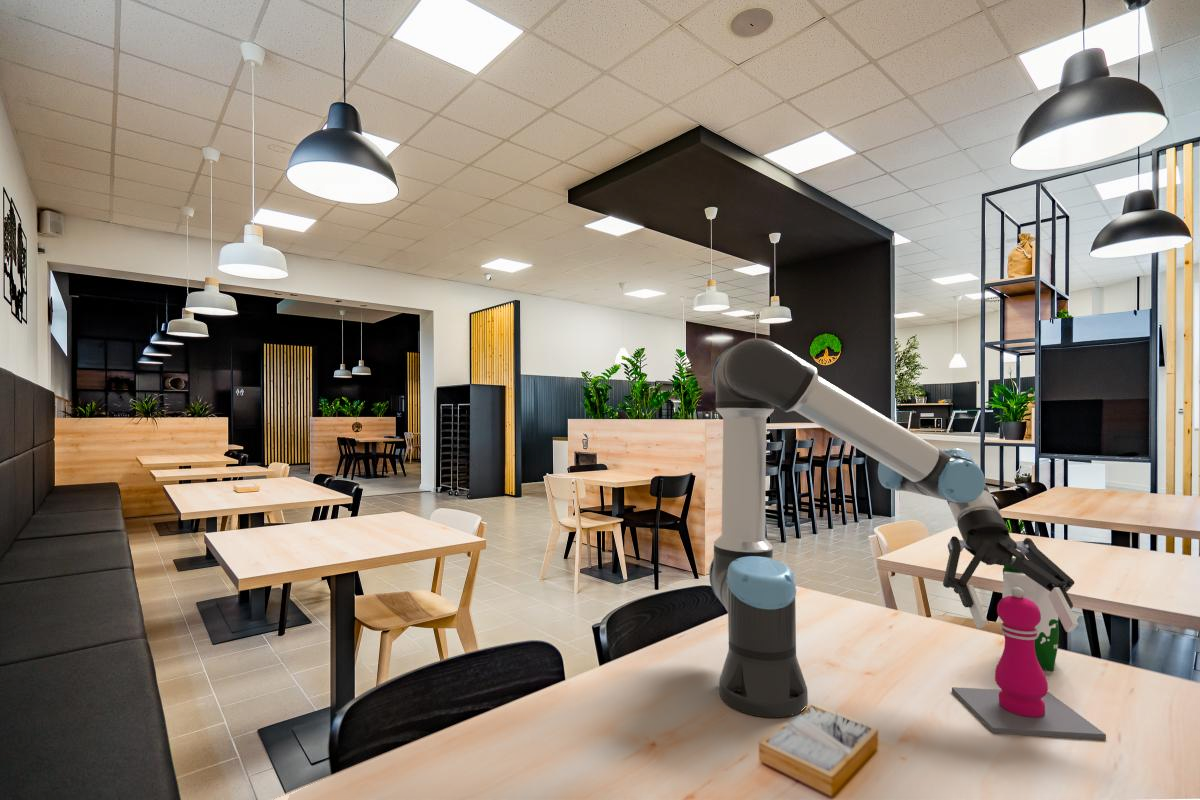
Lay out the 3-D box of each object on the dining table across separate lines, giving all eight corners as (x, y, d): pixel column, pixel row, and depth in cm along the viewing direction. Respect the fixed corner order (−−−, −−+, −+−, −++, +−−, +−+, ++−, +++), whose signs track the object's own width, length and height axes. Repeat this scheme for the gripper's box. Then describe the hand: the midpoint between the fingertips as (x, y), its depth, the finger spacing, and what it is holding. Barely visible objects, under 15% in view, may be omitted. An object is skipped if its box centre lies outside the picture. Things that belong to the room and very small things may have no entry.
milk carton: (1005, 649, 125) (1002, 554, 125) (1059, 659, 119) (1056, 560, 120) (1003, 662, 118) (1000, 562, 118) (1060, 674, 112) (1056, 569, 113)
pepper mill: (1060, 719, 94) (1055, 593, 94) (1014, 719, 94) (1010, 593, 95) (1028, 698, 101) (1024, 581, 102) (985, 698, 101) (982, 581, 102)
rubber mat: (993, 733, 92) (993, 727, 92) (951, 691, 105) (951, 687, 105) (1106, 739, 89) (1105, 734, 89) (1048, 696, 103) (1048, 691, 103)
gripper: (1041, 531, 112) (1099, 640, 97) (903, 529, 116) (939, 633, 100) (1058, 508, 107) (1122, 618, 92) (913, 506, 111) (952, 612, 95)
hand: (1027, 626), depth 96 cm, fingers open, 13 cm apart
